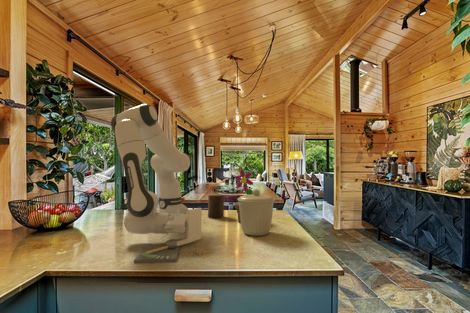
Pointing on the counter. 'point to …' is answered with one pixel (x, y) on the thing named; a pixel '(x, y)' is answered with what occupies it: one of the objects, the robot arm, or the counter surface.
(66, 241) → the counter surface
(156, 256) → the dial board
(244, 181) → the flowerpot
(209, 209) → the pillar candle
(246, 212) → the canister
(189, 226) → the upright cream panel
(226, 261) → the counter surface
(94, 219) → the counter surface
